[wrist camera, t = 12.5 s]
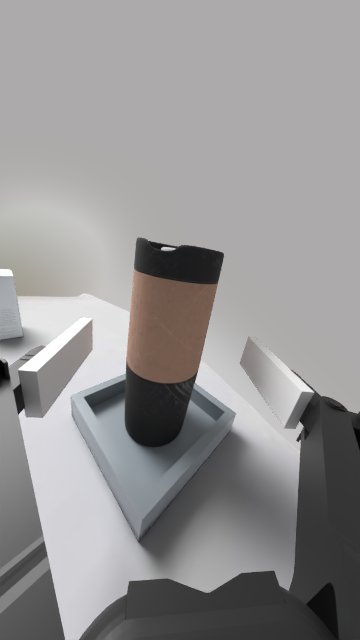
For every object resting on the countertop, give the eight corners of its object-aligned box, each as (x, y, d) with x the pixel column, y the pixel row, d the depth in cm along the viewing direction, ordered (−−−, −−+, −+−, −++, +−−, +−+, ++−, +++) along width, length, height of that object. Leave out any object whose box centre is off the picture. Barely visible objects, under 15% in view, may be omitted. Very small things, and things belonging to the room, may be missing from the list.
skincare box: (-8, 328, 36) (-21, 268, 32) (20, 325, 39) (11, 269, 35) (-7, 341, 33) (-22, 274, 29) (23, 336, 36) (14, 275, 31)
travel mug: (171, 391, 27) (197, 250, 20) (196, 438, 21) (245, 256, 14) (117, 401, 24) (127, 237, 17) (128, 461, 17) (150, 236, 11)
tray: (71, 415, 22) (70, 395, 21) (160, 373, 32) (162, 359, 31) (138, 542, 13) (142, 519, 12) (229, 430, 23) (236, 413, 22)
